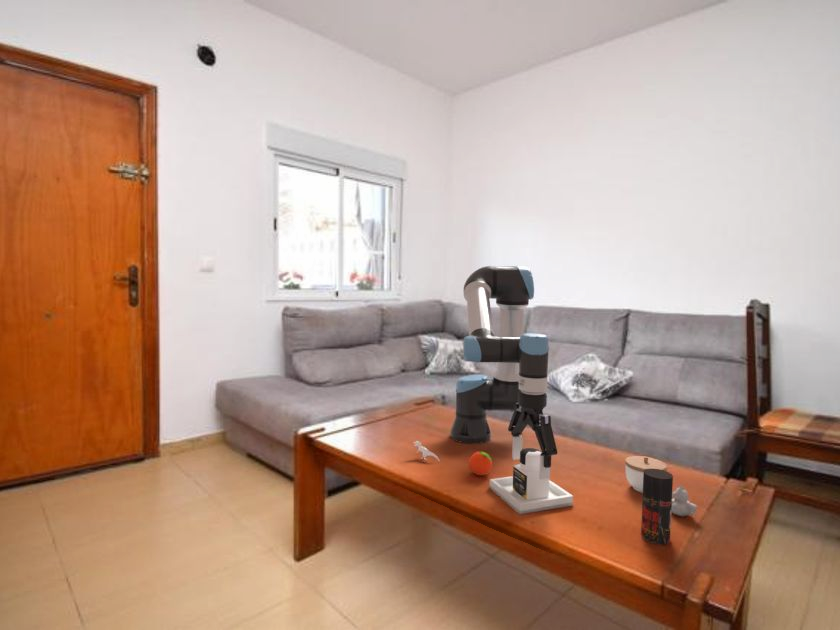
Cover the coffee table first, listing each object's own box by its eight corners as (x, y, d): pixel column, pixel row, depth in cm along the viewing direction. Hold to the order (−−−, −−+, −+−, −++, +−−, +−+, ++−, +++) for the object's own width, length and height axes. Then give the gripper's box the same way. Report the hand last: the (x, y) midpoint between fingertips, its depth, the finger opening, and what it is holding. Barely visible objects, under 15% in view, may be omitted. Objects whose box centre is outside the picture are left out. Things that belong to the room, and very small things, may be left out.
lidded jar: (649, 480, 138) (650, 449, 137) (674, 496, 127) (676, 463, 126) (616, 482, 136) (617, 451, 135) (639, 498, 125) (641, 465, 125)
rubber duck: (673, 507, 120) (675, 477, 120) (701, 517, 115) (702, 486, 115) (663, 513, 117) (665, 482, 117) (691, 524, 112) (692, 492, 111)
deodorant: (638, 529, 109) (641, 467, 108) (666, 533, 108) (669, 470, 107) (643, 542, 104) (646, 476, 103) (672, 546, 102) (675, 480, 101)
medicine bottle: (512, 489, 128) (513, 447, 127) (534, 486, 130) (535, 444, 129) (525, 501, 121) (527, 456, 120) (549, 497, 123) (550, 453, 123)
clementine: (499, 475, 140) (499, 452, 139) (485, 482, 135) (485, 458, 134) (478, 468, 145) (478, 445, 145) (464, 474, 140) (464, 451, 140)
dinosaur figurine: (452, 469, 151) (456, 450, 151) (427, 475, 142) (431, 455, 142) (419, 453, 161) (422, 435, 161) (394, 458, 152) (398, 439, 152)
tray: (489, 487, 131) (489, 479, 131) (538, 480, 136) (538, 472, 136) (519, 514, 116) (519, 504, 116) (572, 505, 121) (573, 495, 121)
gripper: (497, 382, 135) (495, 453, 136) (547, 404, 111) (544, 489, 113) (520, 380, 137) (518, 450, 139) (573, 402, 114) (570, 485, 115)
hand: (530, 468), depth 126 cm, fingers open, 13 cm apart
